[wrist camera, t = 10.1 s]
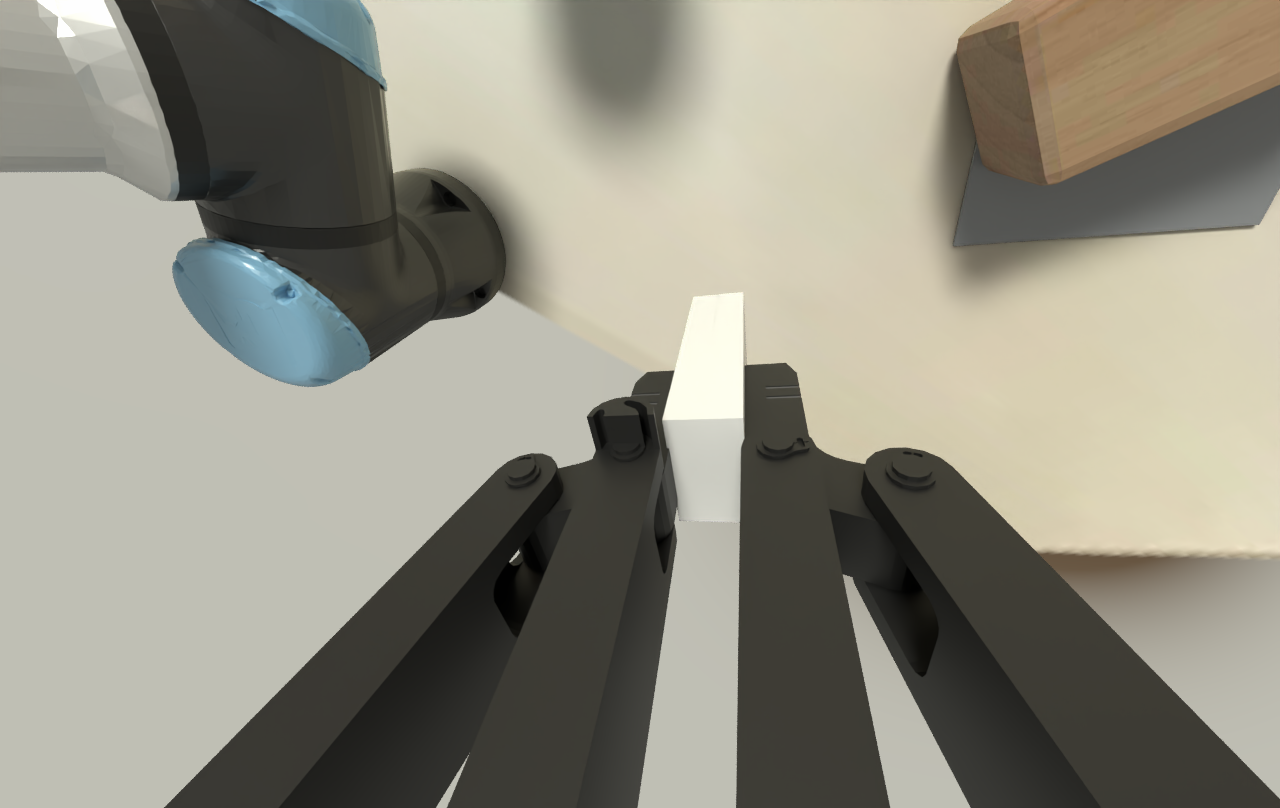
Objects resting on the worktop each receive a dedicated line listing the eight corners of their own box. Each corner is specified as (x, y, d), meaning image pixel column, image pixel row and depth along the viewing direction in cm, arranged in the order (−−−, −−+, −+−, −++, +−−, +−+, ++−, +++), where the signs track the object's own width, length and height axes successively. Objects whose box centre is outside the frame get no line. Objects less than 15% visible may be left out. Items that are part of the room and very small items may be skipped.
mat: (952, 245, 39) (953, 246, 39) (1007, 4, 31) (1009, 3, 30) (1255, 223, 34) (1259, 224, 34) (1420, -72, 26) (1426, -74, 25)
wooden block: (947, 38, 32) (1390, -232, 23) (979, 174, 36) (1370, -13, 27) (1011, 16, 24) (1729, -412, 15) (1044, 195, 28) (1633, -64, 19)
